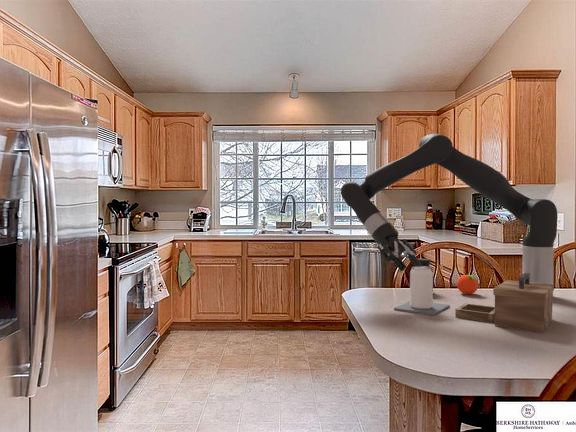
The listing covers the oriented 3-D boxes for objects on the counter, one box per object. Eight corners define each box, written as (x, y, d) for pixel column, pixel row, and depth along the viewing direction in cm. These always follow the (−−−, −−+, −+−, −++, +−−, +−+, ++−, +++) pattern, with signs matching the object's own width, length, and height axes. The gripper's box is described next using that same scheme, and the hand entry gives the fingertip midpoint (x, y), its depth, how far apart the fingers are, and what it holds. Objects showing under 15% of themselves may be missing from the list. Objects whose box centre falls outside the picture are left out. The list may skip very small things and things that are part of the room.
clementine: (484, 296, 151) (484, 275, 151) (466, 297, 150) (466, 276, 150) (470, 292, 159) (470, 272, 159) (452, 292, 158) (453, 273, 157)
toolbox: (468, 308, 133) (468, 266, 132) (553, 319, 119) (553, 273, 119) (451, 319, 119) (451, 273, 119) (544, 333, 106) (545, 281, 106)
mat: (411, 302, 142) (411, 300, 142) (449, 307, 135) (449, 305, 135) (394, 310, 131) (393, 308, 131) (434, 315, 124) (434, 313, 124)
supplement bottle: (424, 290, 163) (424, 257, 162) (437, 293, 156) (437, 259, 156) (409, 291, 160) (409, 258, 160) (421, 295, 154) (421, 260, 153)
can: (431, 305, 134) (431, 266, 134) (433, 310, 128) (433, 269, 128) (409, 304, 136) (409, 265, 136) (410, 308, 130) (410, 268, 129)
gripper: (374, 222, 136) (406, 262, 128) (400, 221, 146) (431, 258, 138) (360, 238, 140) (391, 278, 132) (386, 236, 150) (416, 273, 142)
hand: (411, 268), depth 135 cm, fingers open, 8 cm apart
